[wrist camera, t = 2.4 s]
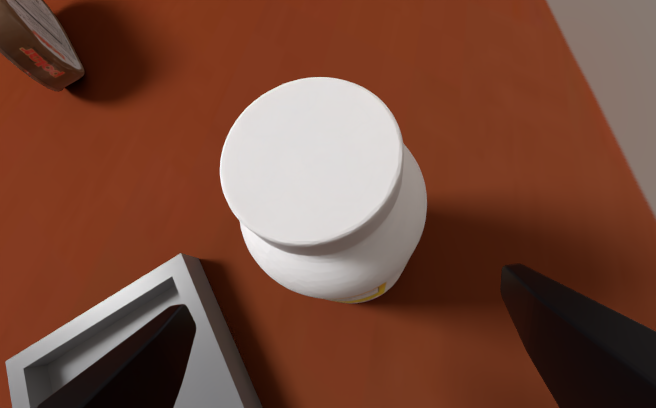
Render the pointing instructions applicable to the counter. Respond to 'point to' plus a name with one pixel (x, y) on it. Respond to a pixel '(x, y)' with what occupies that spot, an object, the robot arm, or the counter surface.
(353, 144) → the supplement bottle
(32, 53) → the tin
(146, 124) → the counter surface
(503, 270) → the robot arm
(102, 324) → the tray
